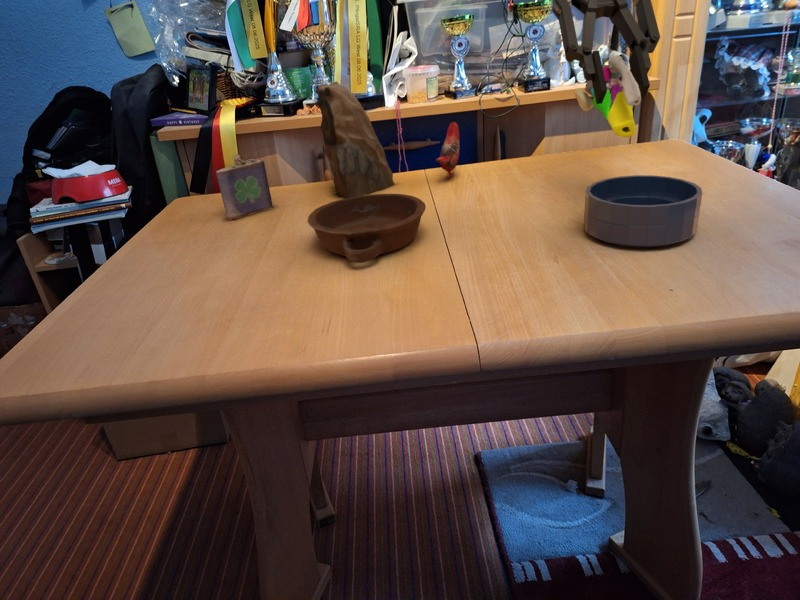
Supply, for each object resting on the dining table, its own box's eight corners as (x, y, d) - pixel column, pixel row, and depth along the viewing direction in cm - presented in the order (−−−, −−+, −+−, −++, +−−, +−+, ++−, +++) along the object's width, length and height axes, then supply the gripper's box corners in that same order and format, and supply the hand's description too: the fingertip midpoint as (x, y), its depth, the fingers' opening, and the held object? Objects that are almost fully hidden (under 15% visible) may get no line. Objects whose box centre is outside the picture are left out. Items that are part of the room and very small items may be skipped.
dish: (424, 212, 94) (421, 183, 92) (432, 264, 74) (430, 228, 72) (321, 223, 95) (316, 194, 93) (303, 276, 75) (296, 242, 73)
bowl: (651, 209, 85) (655, 170, 82) (720, 239, 72) (728, 194, 70) (565, 225, 82) (566, 185, 80) (621, 259, 70) (625, 213, 67)
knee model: (607, 175, 72) (583, 115, 92) (672, 146, 69) (633, 90, 89) (580, 112, 68) (561, 64, 88) (649, 78, 65) (613, 36, 85)
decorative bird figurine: (465, 168, 118) (462, 119, 113) (445, 193, 103) (442, 138, 99) (451, 168, 119) (449, 120, 114) (430, 193, 104) (426, 138, 99)
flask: (230, 221, 101) (215, 162, 96) (224, 218, 103) (209, 160, 98) (275, 207, 106) (264, 150, 101) (268, 205, 108) (256, 149, 103)
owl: (347, 201, 105) (330, 88, 96) (309, 192, 113) (290, 88, 104) (397, 184, 112) (385, 77, 103) (357, 177, 120) (344, 78, 111)
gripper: (646, -23, 85) (680, 105, 77) (528, -9, 86) (550, 119, 79) (664, -70, 78) (703, 67, 70) (535, -53, 79) (560, 83, 71)
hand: (622, 94), depth 74 cm, fingers closed on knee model, 5 cm apart
